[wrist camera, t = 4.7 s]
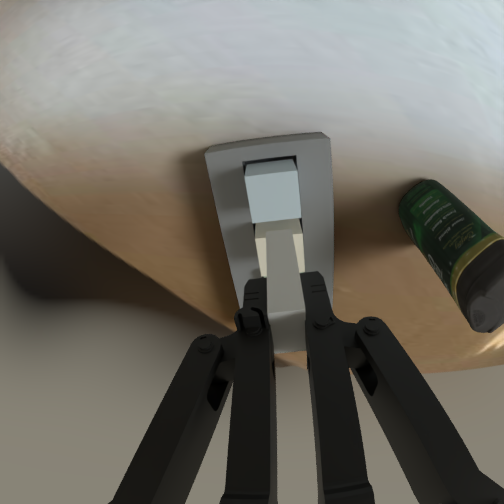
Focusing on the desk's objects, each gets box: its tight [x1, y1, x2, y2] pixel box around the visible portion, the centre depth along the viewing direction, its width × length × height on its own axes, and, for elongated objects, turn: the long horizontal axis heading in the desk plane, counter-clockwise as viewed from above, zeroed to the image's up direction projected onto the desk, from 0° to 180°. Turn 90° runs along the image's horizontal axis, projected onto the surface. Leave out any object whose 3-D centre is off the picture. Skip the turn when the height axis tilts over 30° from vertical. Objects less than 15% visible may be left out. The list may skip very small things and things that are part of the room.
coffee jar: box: [399, 180, 504, 333], centre depth 24 cm, size 10×8×19 cm
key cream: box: [255, 218, 305, 277], centre depth 29 cm, size 4×4×4 cm
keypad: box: [204, 132, 334, 309], centre depth 33 cm, size 26×12×4 cm, turn 9°
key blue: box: [245, 159, 302, 223], centre depth 25 cm, size 4×4×4 cm
